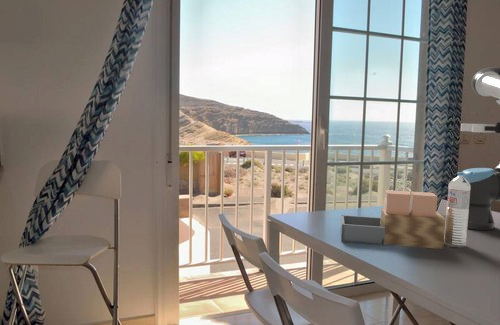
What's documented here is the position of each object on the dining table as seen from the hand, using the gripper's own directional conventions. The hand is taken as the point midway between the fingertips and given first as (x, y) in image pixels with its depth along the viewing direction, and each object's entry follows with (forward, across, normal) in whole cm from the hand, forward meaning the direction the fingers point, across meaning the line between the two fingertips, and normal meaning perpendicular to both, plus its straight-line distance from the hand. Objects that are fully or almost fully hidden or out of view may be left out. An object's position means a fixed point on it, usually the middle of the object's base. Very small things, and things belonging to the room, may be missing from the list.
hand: (466, 127), depth 142 cm
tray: (+32, -3, -40) cm, 51 cm away
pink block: (+21, -2, -26) cm, 34 cm away
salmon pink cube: (+12, -2, -26) cm, 29 cm away
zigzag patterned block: (+16, -2, -40) cm, 43 cm away
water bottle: (+1, -2, -40) cm, 40 cm away
